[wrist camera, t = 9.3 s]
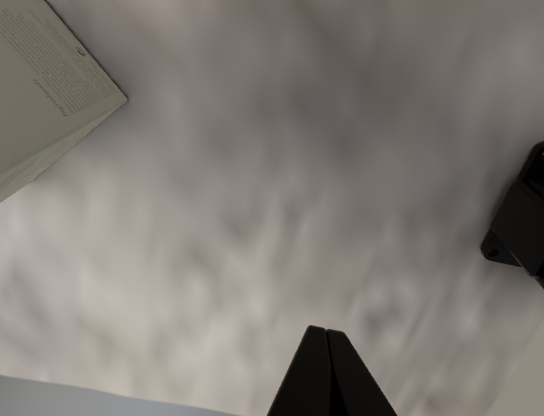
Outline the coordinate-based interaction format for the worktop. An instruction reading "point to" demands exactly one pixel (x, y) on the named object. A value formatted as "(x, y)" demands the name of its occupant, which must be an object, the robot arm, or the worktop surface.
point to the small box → (44, 92)
